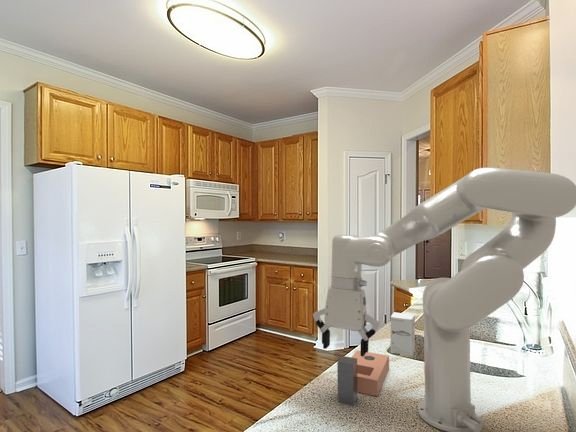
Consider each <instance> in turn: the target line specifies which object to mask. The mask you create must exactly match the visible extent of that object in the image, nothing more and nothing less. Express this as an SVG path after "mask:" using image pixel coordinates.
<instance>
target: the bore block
mask: <svg viewBox="0 0 576 432" xmlns="http://www.w3.org/2000/svg"><path fill="white" fill-rule="evenodd" d="M360 353H361V350H356V351H354V353H353V354H352V356H351V357H352V358H357V390H358V393H361V394H366V395H371V396H375V397H379V394H380V391H381V389H382V387H383V384H384V381H385V379H386V377H387V375H388V372H389V370H390V356H389V355H387V354H383V353H382V354H380V353H375V352H369V351H368V352H367V353H366V354H365V355H364V357H362V356H361V355H360Z"/></svg>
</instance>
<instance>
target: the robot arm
mask: <svg viewBox="0 0 576 432" xmlns="http://www.w3.org/2000/svg"><path fill="white" fill-rule="evenodd" d="M575 208H576V184H575V183H574V181H573V180H571V179H570V178H568V177H566V176H564V175H562V174H558V173H551V172H541V171H530V170H522V169H521V170H520V169H509V168H503V167H502V168H501V167H500V168H499V167H478V168H476V169H474V170H472V171H470V172H468V174H466V175H464V176H463V177H461V178H460V179H458V180H457V181H455V182H454V183H452V184H450V185H448V186H447V187H446V188H444V189H442V190H440V191H438V192H437V193H436V194H433V196H431V197H429V198H427V199H426V200H424V201H422V202H420V203H419V204H418V205H416V206H415V207H413V208H412V209H411V210H410V211H409V212H408V213H406V214H405V215H404V216H403V217H401V218H400V219H398V220H397V221H395V222H393V223H392V224H390V225H389V226H387V227H386V228H384V229H382V230H380V231H379V232H377V233H375V234H373V235H370V236H359V235H355V234H354V235H353V234H337V235H334V236H333V238H332V241H331V243H332V244H331V274H330V275H331V276H330V280H331V281H330V285H331V286H329V287H328V289H327V294H326V299H325V307H324V308H322V309H320V310H317V311H315V312H314V313H312V316H313V319H314V321H315V325H316V326H317V327H318V329H319V331H320V333H321V344H322V345H323V347H322V348H323V349H324V350H326V349H327V348H328V347H329V346H331V345H330V344H331V341H330V340H331V339H330V338H331V331H330V328H334V329H341V330H346V331H351V332H352V331H353V332H358V334H359V335H360V337H361V339H360V351H361V353H360V355H361V356H362V357H364V355H365V354H366V353H367V352H369V341H370V340H369V339H370V338H371V337H373V336H374V335H375V334H376V333H377V331H378V329H379V327H380V326H381V322H380V321H378V320H377V319H376V318H375V317H372V316H371V315H370V314H368V312H367V309H368V308H367V300H366V292H365V289H364V288H362V287H367V285H368V281H367V280H364V279H363V277H362V265H364V266H369V267H374V268H376V267H377V268H380V267H383V266H386V265H388V264H389V263H390V262H391V260H392V258H393V257H396V256H397V255H399V254H401V253H403V252H405V251H406V250H408V249H409V248H411V247H412V246H415V245H417V244H419V243H421V242H424V241H427V240H431V239H434V238H436V237H438V236H440V235H442V234H444V233H446V232H447V231H449V230H451V229H452V228H454V227H456V226H457V225H460V224H461V223H463V222H464V221H466V220H468V219H470V218H472V217H474V216H475V215H477V214H478V213H480V212H482V211H484V210H486V209H489V210H494V211H495V210H496V211H501V212H508V213H512V214H511V219H510V221H509V223H508V224H507V225H506V227H504V228H503V230H501V231H499V233H498V234H496V235H495V236H494V237H493V238H491V239H490V240H488V241H487V242H485V243H484V244H483V245H482V246H480V247H479V248H477V249H476V250H474V251H473V252H471V253H469V254H468V256H466V258H464V260H463V262H462V265H461V270H460V271H459V272H457V273H456V274H455V275H454V276H452V277H451V278H449V277H438V278H434V279H432V280H431V281H430V282H428V283H427V284H426V286H425V288H424V290H423V293H422V314H423V340H424V341H423V344H424V345H423V346H424V347H423V354H424V356H423V360H424V364H423V366H424V399H422V400H421V401H420V402H419V403H418V404H417V412H418V414H419V416H420V418H421V419H422V420H423V421H424V422H425V423H427V424H428V425H430V426H432V427H434V428H436V429H439V430H441V431H444V432H482V428H483V427H484V426H485V420H484V419H482V418H481V417H479V416H478V414H477V413H476V406H475V404H473V403H471V402H472V401H471V400H472V398H471V397H472V396H471V395H472V393H471V391H472V390H471V389H472V388H471V340H470V339H471V338H470V337H471V336H470V328H472V327H474V326H475V325H477V324H478V323H480V322H481V321H482V320H484V319H486V318H487V317H488V316H489V315H491V314H493V313H494V312H495V311H497V310H499V308H501V307H502V306H504V305H506V304H507V303H508V302H509V301H511V300H512V299H513V298H515V297H516V295H517V294H519V292H520V290H521V288H522V287H523V284H524V282H525V274H524V269H525V268H527V267H528V266H529V265H530V264H532V263H533V262H534V261H536V259H538V258H539V257H540V256H542V254H544V253H545V251H547V250H548V248H549V247H550V246H551V245H552V242H553V240H554V238H555V234H556V225H557V218H559V217H562V216H565V215H567V214H568V213H570V212H571V211H573V210H574V209H575ZM321 316H324V321H323V320H322V318H321ZM368 323H369V324H370V325H371V326H372V327H371V329H369V330H368V329H367V328H366V326H367V324H368Z"/></svg>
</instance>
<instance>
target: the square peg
mask: <svg viewBox="0 0 576 432" xmlns="http://www.w3.org/2000/svg"><path fill="white" fill-rule="evenodd" d="M336 363H337V364H336V365H337V371H336V372H337V403H340V404H344V405H348V406H351V407H352V406H355V403H356V402H357V400H358V398H359V397H358V394H359V392H358V390H357V358H352V356H351V357H350V356H346V355H345V356H344V355H342V356H341V357H340V358H339V359H338V360H337V362H336Z"/></svg>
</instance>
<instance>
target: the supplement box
mask: <svg viewBox="0 0 576 432" xmlns="http://www.w3.org/2000/svg"><path fill="white" fill-rule="evenodd" d="M415 317H416V315H415V314H411V313H403V312H396V311H393V313H392V314H391V315H390V353H391V354H398V355H402V356H407V357H411V358H412V357H413V355H414V353H415V350H416V347H415V346H416V345H415V343H416V340H415V339H416V337H415V336H416V335H415V334H416V333H415V331H416V329H415V328H416V326H415V325H416V324H415V323H416V321H415V320H416V319H415Z"/></svg>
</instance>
